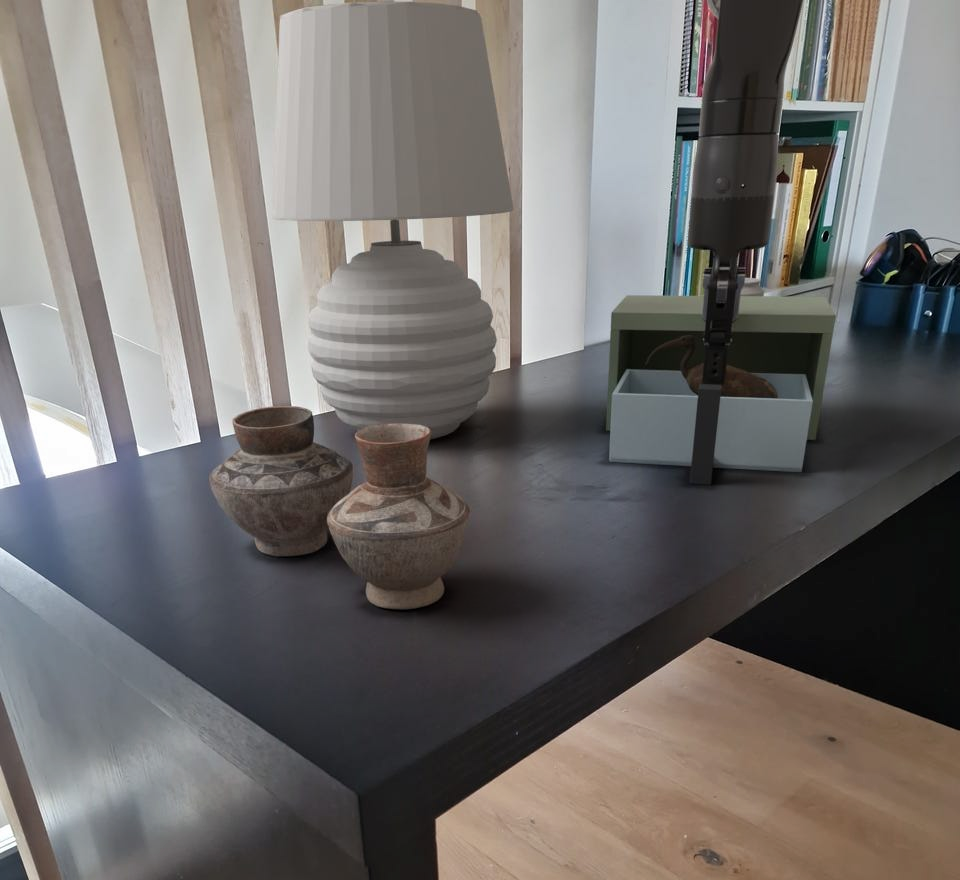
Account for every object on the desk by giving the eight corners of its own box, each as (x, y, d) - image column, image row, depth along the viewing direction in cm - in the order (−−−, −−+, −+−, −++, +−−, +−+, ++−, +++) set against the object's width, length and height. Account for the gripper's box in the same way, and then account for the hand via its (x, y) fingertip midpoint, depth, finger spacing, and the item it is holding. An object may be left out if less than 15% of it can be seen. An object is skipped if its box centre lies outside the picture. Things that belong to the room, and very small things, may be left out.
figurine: (644, 427, 88) (650, 340, 84) (639, 416, 92) (645, 332, 88) (782, 425, 88) (795, 337, 83) (772, 414, 91) (783, 329, 87)
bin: (804, 490, 80) (820, 392, 75) (601, 478, 84) (605, 385, 80) (795, 439, 95) (808, 354, 90) (623, 431, 99) (627, 350, 95)
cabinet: (815, 440, 94) (836, 315, 88) (605, 430, 99) (611, 312, 93) (807, 409, 106) (825, 296, 99) (620, 402, 111) (626, 295, 105)
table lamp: (403, 478, 86) (367, -17, 67) (257, 435, 101) (194, 23, 82) (558, 424, 102) (565, 13, 83) (412, 395, 118) (390, 42, 98)
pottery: (392, 643, 56) (377, 466, 50) (196, 547, 71) (167, 402, 66) (508, 587, 63) (507, 425, 57) (307, 510, 78) (290, 377, 73)
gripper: (777, 193, 73) (752, 396, 81) (772, 188, 85) (751, 366, 93) (686, 196, 75) (671, 394, 83) (695, 190, 87) (681, 364, 95)
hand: (713, 378), depth 88 cm, fingers closed on figurine, 4 cm apart
